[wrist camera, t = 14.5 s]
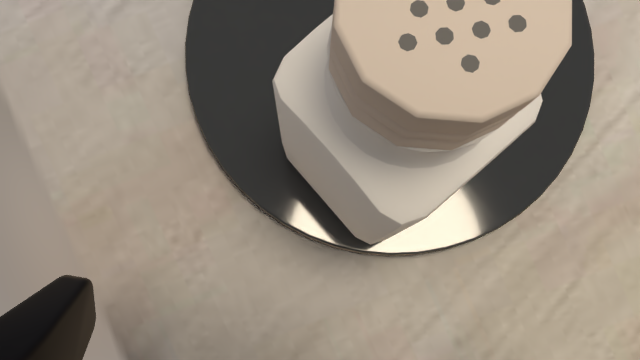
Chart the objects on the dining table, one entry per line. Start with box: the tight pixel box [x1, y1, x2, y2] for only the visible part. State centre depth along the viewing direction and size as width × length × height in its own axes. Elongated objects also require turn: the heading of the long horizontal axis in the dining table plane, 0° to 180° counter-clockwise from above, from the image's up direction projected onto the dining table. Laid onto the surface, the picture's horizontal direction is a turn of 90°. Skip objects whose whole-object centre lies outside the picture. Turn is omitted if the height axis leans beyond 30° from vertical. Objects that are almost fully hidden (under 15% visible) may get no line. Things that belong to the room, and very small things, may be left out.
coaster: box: [185, 0, 594, 256], centre depth 18 cm, size 12×12×1 cm
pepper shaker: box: [272, 0, 572, 245], centre depth 13 cm, size 4×4×10 cm
